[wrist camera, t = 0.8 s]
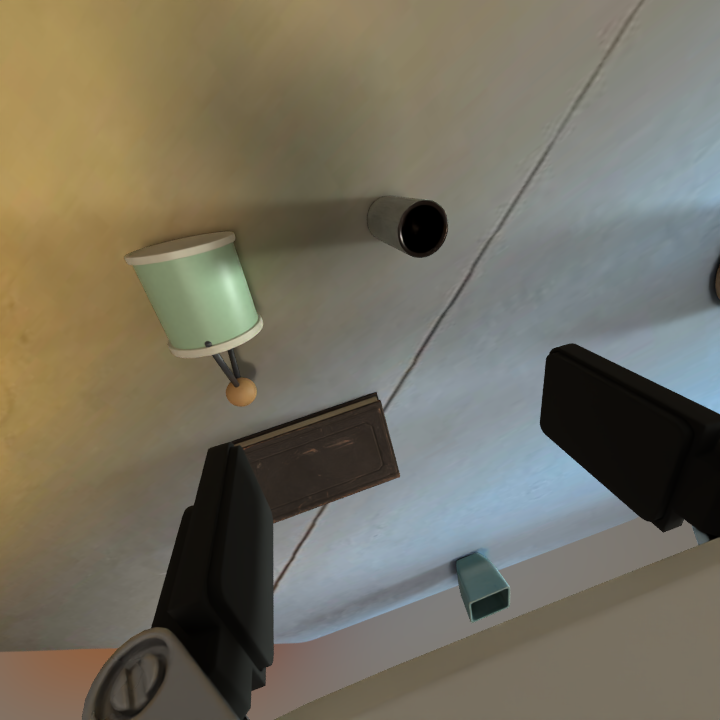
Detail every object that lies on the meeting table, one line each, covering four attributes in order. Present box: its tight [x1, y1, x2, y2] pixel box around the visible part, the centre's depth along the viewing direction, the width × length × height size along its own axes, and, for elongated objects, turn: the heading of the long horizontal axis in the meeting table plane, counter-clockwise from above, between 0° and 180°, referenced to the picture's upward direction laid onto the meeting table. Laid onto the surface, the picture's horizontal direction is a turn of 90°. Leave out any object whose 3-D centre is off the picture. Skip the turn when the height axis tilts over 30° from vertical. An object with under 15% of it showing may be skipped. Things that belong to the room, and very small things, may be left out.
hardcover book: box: [232, 393, 400, 523], centre depth 49 cm, size 16×23×2 cm
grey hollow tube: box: [367, 196, 448, 258], centre depth 32 cm, size 4×4×10 cm
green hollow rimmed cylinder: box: [124, 232, 263, 406], centre depth 33 cm, size 18×9×9 cm, turn 9°
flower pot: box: [456, 553, 510, 623], centre depth 70 cm, size 9×9×9 cm
